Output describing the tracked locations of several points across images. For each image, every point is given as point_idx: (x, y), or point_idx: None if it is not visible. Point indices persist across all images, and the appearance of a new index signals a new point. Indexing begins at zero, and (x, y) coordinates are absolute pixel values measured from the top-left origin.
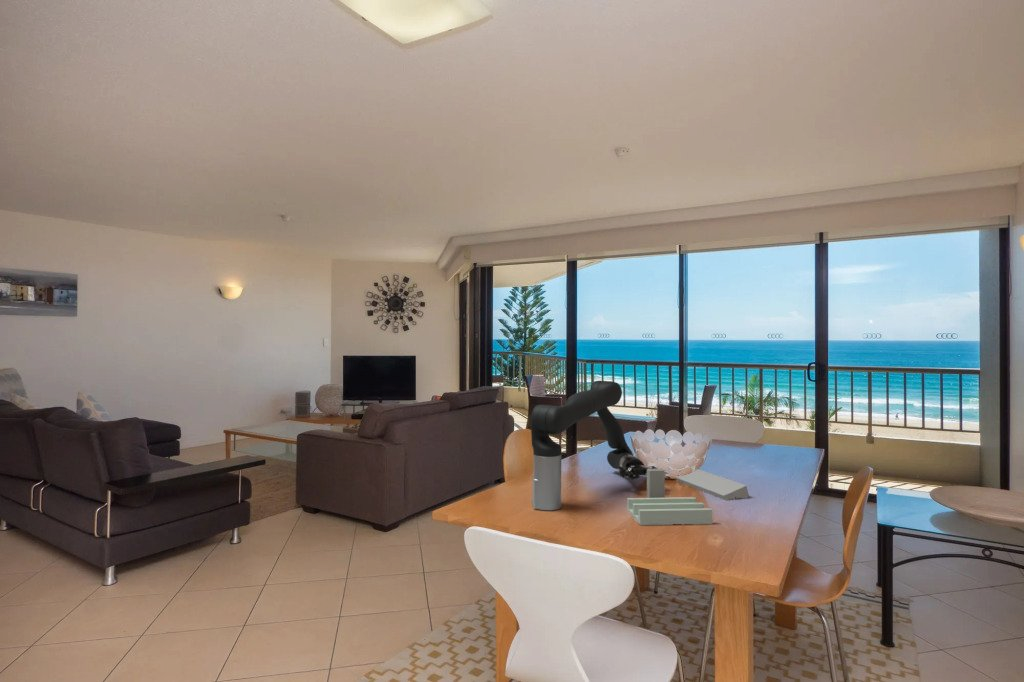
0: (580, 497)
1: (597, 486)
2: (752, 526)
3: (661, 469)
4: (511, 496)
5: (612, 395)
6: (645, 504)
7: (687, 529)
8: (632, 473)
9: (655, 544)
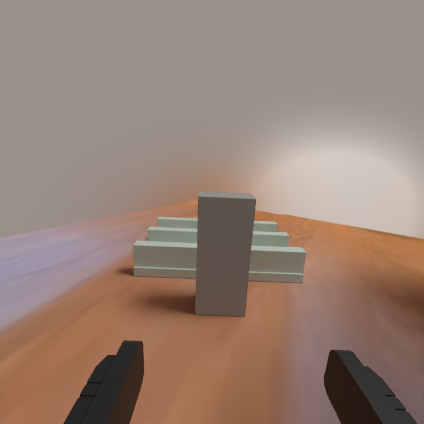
0: None
1: None
2: (110, 230)
3: (203, 194)
4: None
5: None
6: (264, 232)
7: None
8: (342, 350)
9: (258, 220)
